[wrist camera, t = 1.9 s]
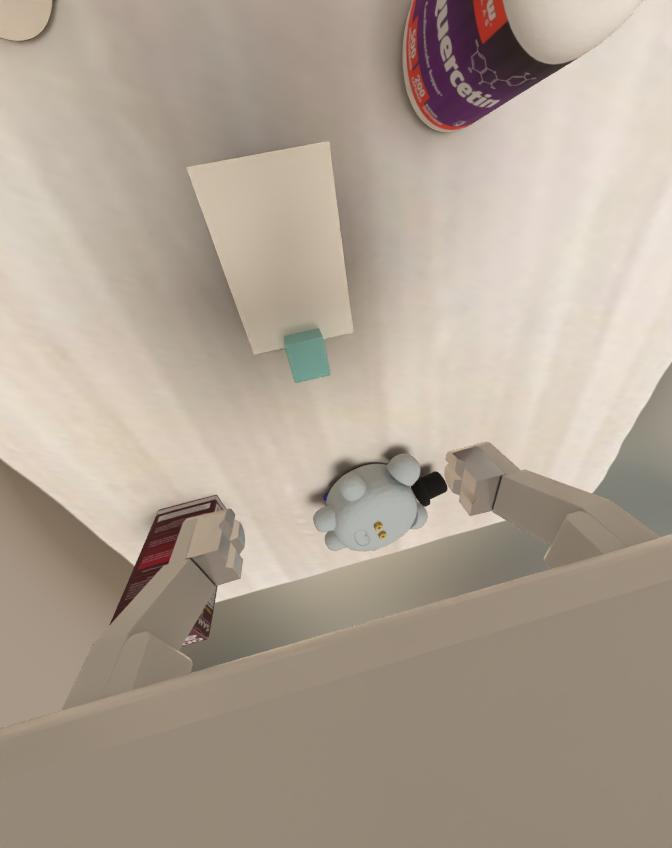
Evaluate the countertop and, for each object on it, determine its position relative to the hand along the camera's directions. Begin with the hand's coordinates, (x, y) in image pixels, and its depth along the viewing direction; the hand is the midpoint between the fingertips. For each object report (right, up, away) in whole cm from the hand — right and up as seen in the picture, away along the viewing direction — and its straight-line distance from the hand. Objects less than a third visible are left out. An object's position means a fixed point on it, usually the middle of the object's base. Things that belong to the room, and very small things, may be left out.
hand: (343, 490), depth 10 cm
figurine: (+6, -8, +33) cm, 35 cm away
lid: (-4, +14, +11) cm, 18 cm away
